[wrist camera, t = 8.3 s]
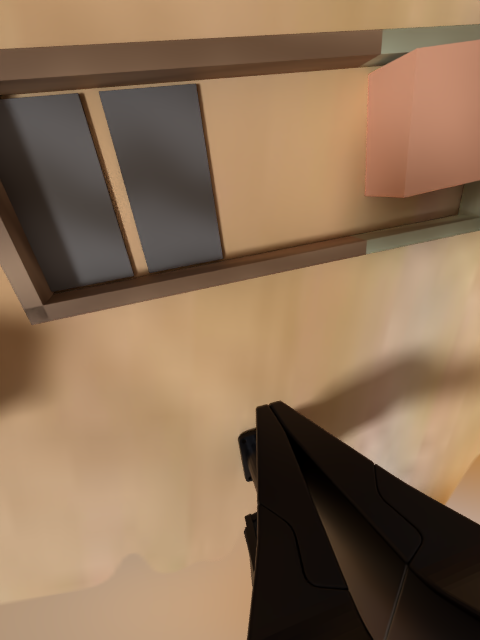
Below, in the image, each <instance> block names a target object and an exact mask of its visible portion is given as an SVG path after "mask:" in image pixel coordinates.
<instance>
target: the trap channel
mask: <svg viewBox="0 0 480 640" xmlns="http://www.w3.org/2000/svg"><path fill="white" fill-rule="evenodd" d="M473 40H480V24H475V25H456V26H437V27H418V28H399V29H380V30H360V31H341V32H322V33H303V34H284V35H265V36H245V37H226V38H207V39H188V40H169V41H149V42H130V43H111V44H92V45H73V46H54V47H34V48H15V49H0V95H12V94H25V93H38V92H51V91H63V90H76V89H89V88H102V87H115V86H127V85H140V84H153V83H166V82H179V81H191V80H204V79H217V78H230V77H243V76H255V75H268V74H281V73H294V72H307V71H319V70H332V69H345V68H358V67H371V66H383V65H386V64H388V63H390V62H392V61H394V60H396V59H398V58H400V57H401V56H403V55H405V54H407V53H409V52H411V51H413V50H415V49H417V48H422V47H430V46H437V45H444V44H451V43H459V42H466V41H473ZM99 95H100V98H101V102H102V105H103V109H104V112H105V116H106V120H107V123H108V127H109V130H110V134H111V137H112V141H113V145H114V148H115V152H116V155H117V159H118V162H119V166H120V170H121V173H122V177H123V180H124V184H125V187H126V191H127V195H128V198H129V202H130V205H131V209H132V212H133V216H134V220H135V223H136V227H137V230H138V234H139V238H140V241H141V245H142V248H143V252H144V255H145V259H146V263H147V266H148V270H149V273H152V272H157V271H162V270H167V269H173V268H178V267H183V266H188V265H193V264H198V263H203V262H208V261H214V260H219V259H223V256H222V249H221V243H220V236H219V230H218V223H217V217H216V211H215V204H214V198H213V191H212V185H211V178H210V172H209V165H208V159H207V152H206V146H205V140H204V133H203V127H202V120H201V114H200V107H199V101H198V94H197V88H196V84H186V85H174V86H161V87H149V88H137V89H124V90H112V91H99ZM474 231H480V180H479V181H474V182H470V183H466V184H464V188H463V193H462V198H461V202H460V207H459V212H458V215H454V216H449V217H444V218H439V219H434V220H429V221H424V222H419V223H414V224H408V225H403V226H398V227H393V228H388V229H383V230H378V231H373V232H368V233H362V234H357V235H352V236H347V237H342V238H337V239H332V240H327V241H322V242H317V243H311V244H306V245H301V246H296V247H291V248H286V249H281V250H276V251H271V252H265V253H260V254H255V255H250V256H245V257H240V258H235V259H230V260H225V261H220V262H214V263H209V264H204V265H199V266H194V267H189V268H184V269H179V270H174V271H168V272H163V273H158V274H153V275H148V276H143V277H138V278H133V279H128V280H123V281H117V282H112V283H107V284H102V285H97V286H92V287H87V288H82V289H77V290H71V291H66V292H61V293H56V294H54V293H53V292H54V291H59V290H65V289H70V288H75V287H80V286H85V285H90V284H95V283H101V282H106V281H111V280H116V279H121V278H126V277H131V276H134V273H133V270H132V267H131V263H130V260H129V257H128V254H127V250H126V247H125V244H124V241H123V237H122V234H121V231H120V228H119V224H118V221H117V218H116V215H115V211H114V208H113V205H112V201H111V198H110V195H109V192H108V188H107V185H106V182H105V179H104V175H103V172H102V169H101V166H100V162H99V159H98V156H97V152H96V149H95V146H94V143H93V139H92V136H91V133H90V130H89V126H88V123H87V120H86V117H85V113H84V110H83V107H82V104H81V100H80V97H79V94H78V93H74V94H62V95H50V96H37V97H25V98H12V99H0V265H1V267H2V268H3V270H4V272H5V274H6V276H7V278H8V280H9V282H10V284H11V286H12V288H13V290H14V292H15V294H16V295H17V297H18V299H19V301H20V303H21V305H22V307H23V309H24V311H25V313H26V315H27V317H28V319H29V321H30V322H31V324H32V325H34V324H39V323H44V322H48V321H53V320H58V319H63V318H67V317H72V316H77V315H81V314H86V313H91V312H96V311H100V310H105V309H110V308H115V307H119V306H124V305H129V304H134V303H138V302H143V301H148V300H152V299H157V298H162V297H167V296H171V295H176V294H181V293H186V292H190V291H195V290H200V289H205V288H209V287H214V286H219V285H224V284H228V283H233V282H238V281H242V280H247V279H252V278H257V277H261V276H266V275H271V274H276V273H280V272H285V271H290V270H295V269H299V268H304V267H309V266H313V265H318V264H323V263H328V262H332V261H337V260H342V259H347V258H351V257H356V256H361V255H366V254H370V253H375V252H380V251H384V250H389V249H394V248H399V247H403V246H408V245H413V244H418V243H422V242H427V241H432V240H437V239H441V238H446V237H451V236H456V235H460V234H465V233H470V232H474Z"/></svg>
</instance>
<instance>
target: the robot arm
mask: <svg viewBox="0 0 480 640" xmlns="http://www.w3.org/2000/svg"><path fill="white" fill-rule="evenodd" d="M238 443H239V448H240V453H241V459H242V464H243V470H244V475H245V479H246V481H248V482H250V481H253V482H254V485H255V488H256V491H257V504H258V505H257V512H256V513H254V514H252V515H251V514H249V515H247V516H245V521H246V526H247V527H245V530H244V534H245V538H246V542H247V546H248V550H249V556H250V566H251V577H252V586H253V590H252V598H251V608H250V617H249V626H248V636H247V640H480V525H479V524H477V523H476V522H474V521H472V520H470V519H468V518H467V517H465V516H463V515H461V514H459V513H458V512H456V511H454V510H452V509H450V508H448V507H447V506H445V505H443V504H441V503H440V502H438V501H436V500H434V499H432V498H431V497H429V496H427V495H425V494H424V493H422V492H420V491H418V490H417V489H415V488H413V487H411V486H410V485H408V484H406V483H405V482H403V481H402V480H400V479H399V478H397V477H395V476H394V475H392V474H391V473H389V472H388V471H386V470H385V469H383V468H381V467H380V466H378V465H377V464H375V465H374V463H373V462H372V461H371V460H369V459H368V458H366V457H365V456H363V455H362V454H360V453H359V452H357V451H356V450H354V449H353V448H351V447H350V446H348V445H347V444H345V443H344V442H342V441H341V440H339V439H338V438H336V437H335V436H333V435H332V434H330V433H329V432H327V431H326V430H324V429H323V428H321V427H320V426H318V425H316V424H315V423H313V422H312V421H310V420H309V419H307V418H306V417H304V416H303V415H301V414H300V413H298V412H297V411H295V410H294V409H292V408H291V407H289V406H288V405H286V404H285V403H283V402H282V401H276V402H273V403H270V404H269V405H267V404H266V405H262V406H258V407H257V408H256V430H255V431H252V432H249V433H246V434H243V435H240V436H239V438H238Z"/></svg>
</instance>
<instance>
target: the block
mask: <svg viewBox="0 0 480 640" xmlns="http://www.w3.org/2000/svg"><path fill="white" fill-rule="evenodd" d="M479 180H480V40H473V41H466V42H459V43H451V44H444V45H437V46H430V47H422V48H417V49H415V50H413V51H411V52H409V53H407V54H405V55H403V56H401V57H400V58H398V59H396V60H394V61H392V62H390V63H388V64H386V65H384V66H382V67H381V68H379V69H377V70H375V71H373V72H371V73H369V74H368V104H367V138H366V172H365V196H378V197H398V198H405V197H409V196H414V195H418V194H422V193H427V192H431V191H435V190H440V189H444V188H448V187H453V186H457V185H461V184H466V183H470V182H474V181H479Z"/></svg>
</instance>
